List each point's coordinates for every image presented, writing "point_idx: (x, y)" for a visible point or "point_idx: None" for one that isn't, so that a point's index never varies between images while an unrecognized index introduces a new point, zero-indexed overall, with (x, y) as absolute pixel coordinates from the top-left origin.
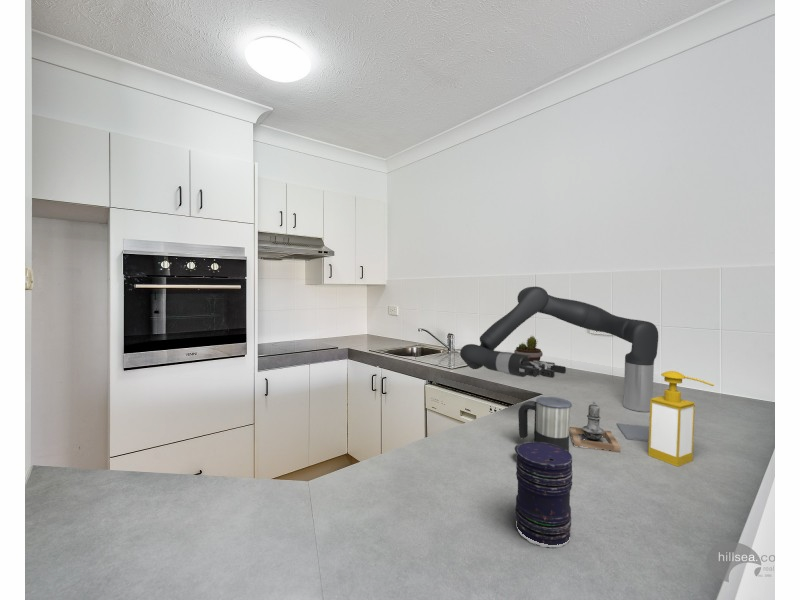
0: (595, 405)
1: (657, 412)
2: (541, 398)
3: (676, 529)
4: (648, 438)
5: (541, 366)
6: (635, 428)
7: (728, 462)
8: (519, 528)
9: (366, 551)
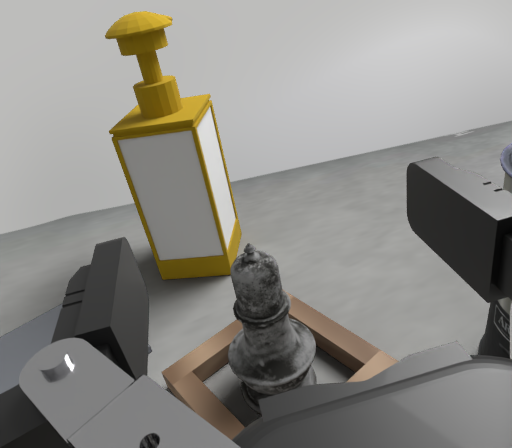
0: (255, 252)
1: (204, 149)
2: None
3: (470, 155)
4: None
5: (333, 397)
6: None
7: (132, 223)
8: None
9: None
